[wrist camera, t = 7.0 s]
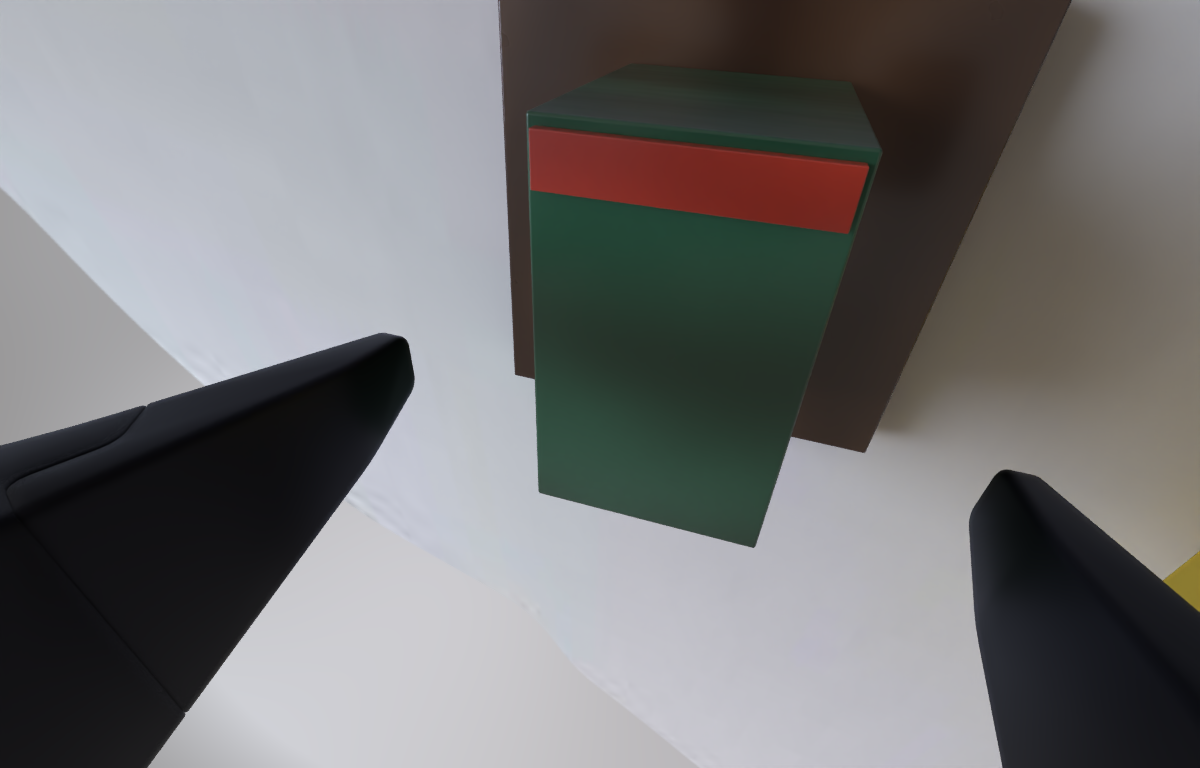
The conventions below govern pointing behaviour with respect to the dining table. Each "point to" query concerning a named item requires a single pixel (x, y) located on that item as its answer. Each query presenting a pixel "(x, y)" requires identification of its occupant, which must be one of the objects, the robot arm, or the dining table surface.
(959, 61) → the brown square board
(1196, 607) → the teapot
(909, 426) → the dining table surface
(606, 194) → the green box
